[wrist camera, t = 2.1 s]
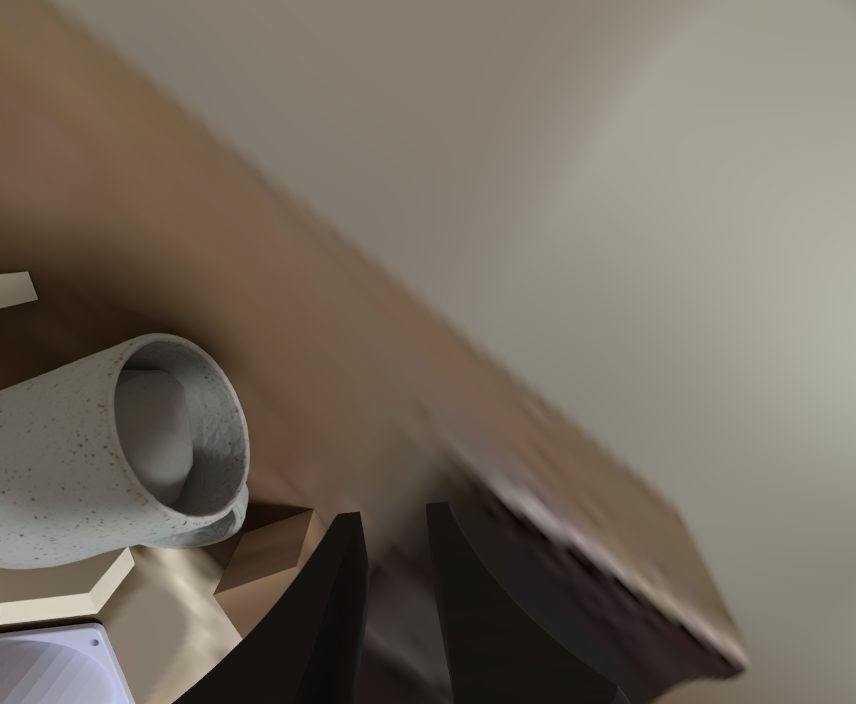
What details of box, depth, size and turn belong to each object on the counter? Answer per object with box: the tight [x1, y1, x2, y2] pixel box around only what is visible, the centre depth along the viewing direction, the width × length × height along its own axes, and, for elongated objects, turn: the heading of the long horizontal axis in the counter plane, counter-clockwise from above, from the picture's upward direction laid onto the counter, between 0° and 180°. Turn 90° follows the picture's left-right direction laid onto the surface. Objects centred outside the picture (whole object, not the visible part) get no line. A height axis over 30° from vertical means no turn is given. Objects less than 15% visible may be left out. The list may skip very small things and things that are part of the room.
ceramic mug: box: [0, 333, 250, 569], centre depth 18 cm, size 11×8×8 cm
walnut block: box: [213, 509, 326, 639], centre depth 22 cm, size 4×4×4 cm
